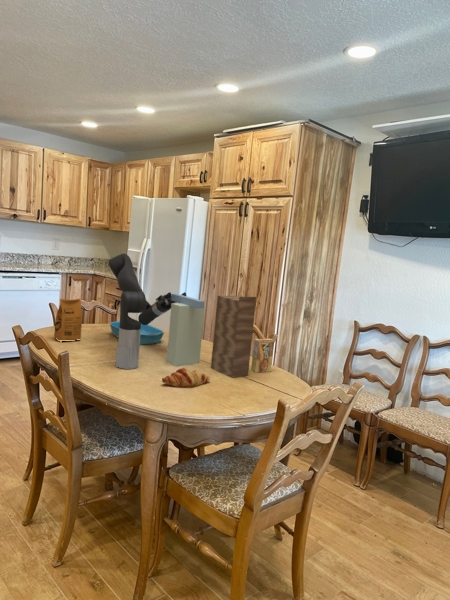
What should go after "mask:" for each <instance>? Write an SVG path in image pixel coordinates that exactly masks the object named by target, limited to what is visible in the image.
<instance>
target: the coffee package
mask: <svg viewBox="0 0 450 600" xmlns="http://www.w3.org/2000/svg"><path fill="white" fill-rule="evenodd" d="M59 301H60V304H59V306H58V309H57V313H56V315H55V319H54V320H55V323H54V334H53V335H54V336H53V337H54V339H55V338H57V339H58V340H77V339H82V338H81V337H82V326H83V325H82V323H83V321H82V320H83V311H82V304H81V303H82V301H81V298H76V299H65V298H60V299H59Z"/></svg>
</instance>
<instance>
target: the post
mask: <svg viewBox="0 0 450 600" xmlns="http://www.w3.org/2000/svg"><path fill="white" fill-rule="evenodd" d="M256 303H257V296H235V295H217V300H216V308H215V309H216V310H215V317H214V318H215V319H214V320H215V321H214V322H215V323H214V330H213V340H212V352H211V363H210V368H211V369H212V370H214V371H217V372H219V373H221V374H223V375H225V376H227V377H229V378H232V379H235V378H241V377H243V378H244V377H247V376H249V371H250V370H249V369H250V360H251V351H252V350H251V349H252V340H253V333H254V323H255V314H256Z"/></svg>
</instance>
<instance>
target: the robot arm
mask: <svg viewBox="0 0 450 600" xmlns="http://www.w3.org/2000/svg"><path fill="white" fill-rule="evenodd" d="M107 262H108V266H109V268H110V270H111V272H112V274H113V275H114V276H115V278H116V280H117V281H116V282H117V284H118V289H120V290H121V295H120V298H119V299H120V300H119V301H120V302H119V305H120V306H119V321H120V325H119V337H118V339H117V340H118V341H117V342H118V344H117V346H116V353H115V354H116V355H115V368H118V367H119V369H124V370H132V369H136V368H138V367H139V357H140V346H141V345H140V332H141V324H142V325H150V324H151V323H152V322H153V321H154V320H155V319H156V318H159V317H160V316H162V315H163V314H166V313H167V312H169V311H171V303H178V302H175V301H172V300H171V296H172V293H171V291H170V292H169V291H168V292H167V293H166V294H161V295H159V296H158V297H157V298H155V302H153V304H150V302H148V300H147V296H146V295H145V292H144V291H143V290H142V287H141V286H140V283H139V281H138V280H139V279H138V277H137V274H136V271H135V269H134V266H133V262H132V259H131V257H130V256H129V254H127V253H120V254H118V255H117V256H115V257H111V258H110V259H109V260H108V261H107ZM180 295H183V296H187V292H185V291H184V292H183V293H181V294H180ZM187 297H188V296H187ZM129 314H139V315H138V317H137V319H138V320H137V319H135V318H132V317H130V315H129Z"/></svg>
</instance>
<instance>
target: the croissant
mask: <svg viewBox="0 0 450 600" xmlns="http://www.w3.org/2000/svg"><path fill="white" fill-rule="evenodd" d="M161 381H162V383H164V384H165V385H170V386H172V387H175V388H176V387H178V388H187V387H188V388H191V387H196V386H198V385H199V386H200V385H203V384H204V383H205V384H206V383H208V382H210V381H211V376H210V375H209V376H208V375H207V374H206V373H201V372H199V370H196V369H195V370H191V369H190V368H184V367H183V368H178V369H176V371H174V372H172V373H171V374H170V375H166V376H165V377H162V379H161Z"/></svg>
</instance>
